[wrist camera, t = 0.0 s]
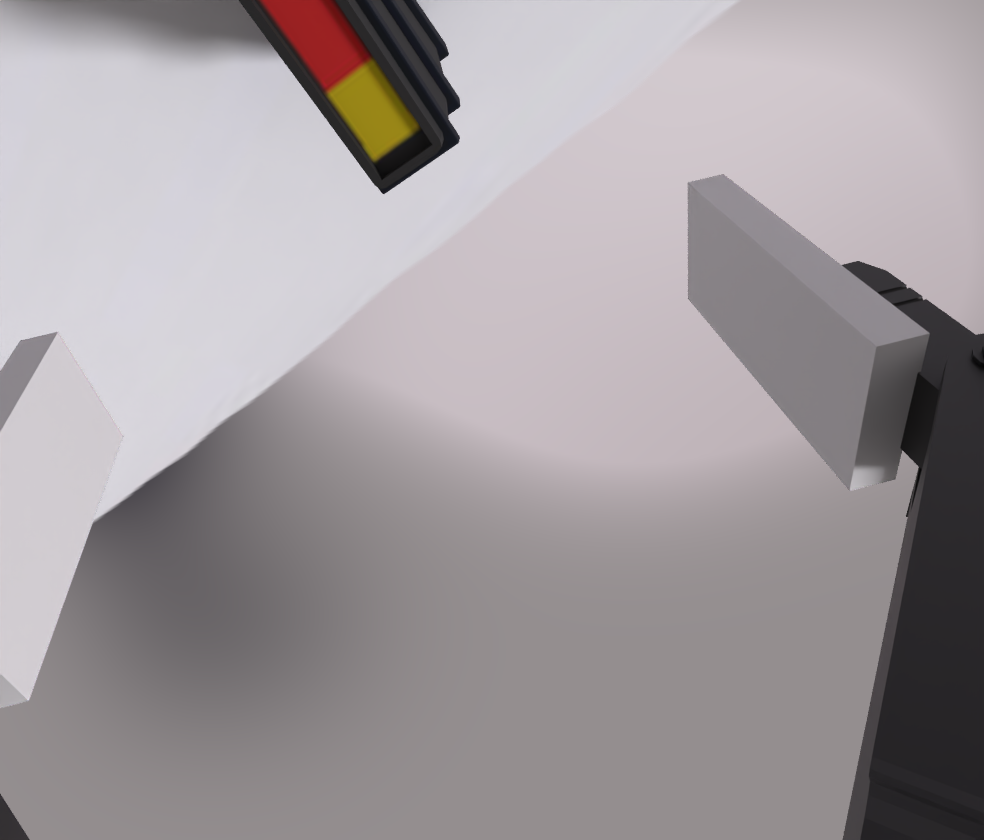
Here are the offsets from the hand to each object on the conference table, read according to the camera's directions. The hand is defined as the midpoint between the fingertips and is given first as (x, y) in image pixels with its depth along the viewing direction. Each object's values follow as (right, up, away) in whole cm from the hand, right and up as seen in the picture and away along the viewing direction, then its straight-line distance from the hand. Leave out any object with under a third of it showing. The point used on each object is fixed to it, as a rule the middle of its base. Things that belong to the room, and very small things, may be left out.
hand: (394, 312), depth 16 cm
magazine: (-6, +21, +19) cm, 28 cm away
